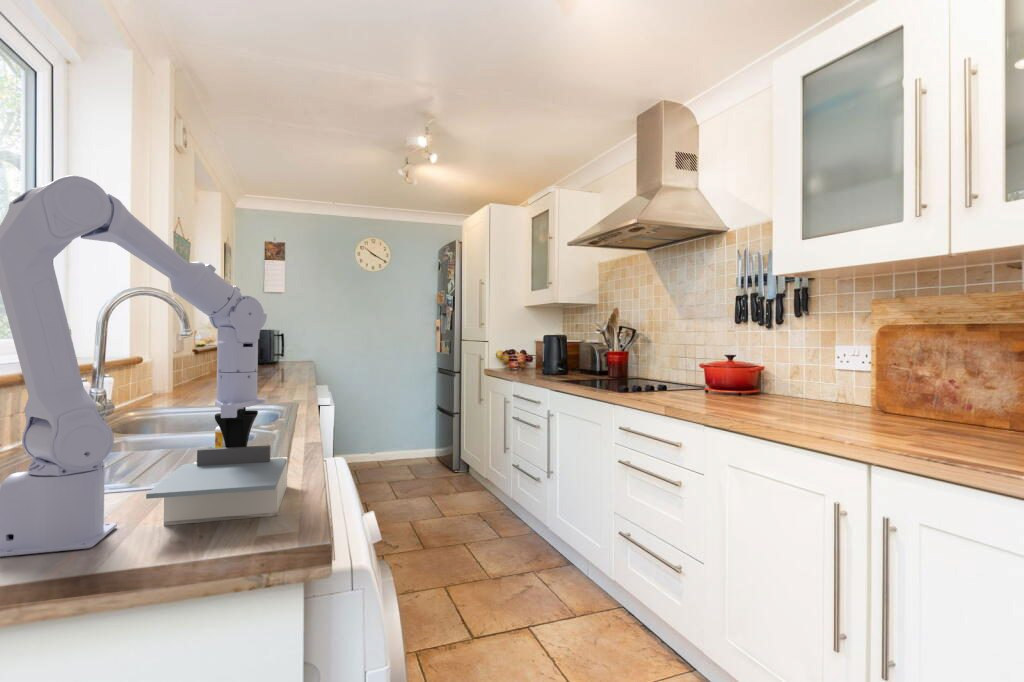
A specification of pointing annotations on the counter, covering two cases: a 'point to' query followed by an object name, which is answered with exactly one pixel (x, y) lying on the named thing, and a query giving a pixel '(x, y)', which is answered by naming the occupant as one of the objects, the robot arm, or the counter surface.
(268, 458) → the lid
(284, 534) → the counter surface
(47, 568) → the counter surface
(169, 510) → the box
